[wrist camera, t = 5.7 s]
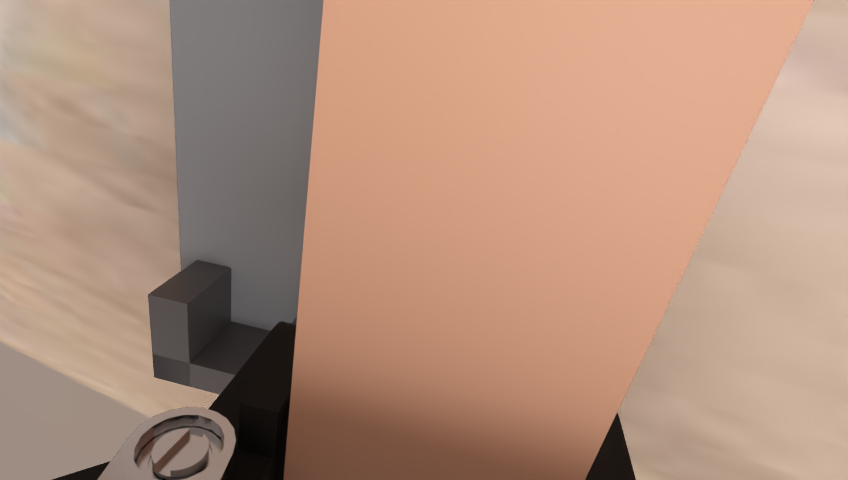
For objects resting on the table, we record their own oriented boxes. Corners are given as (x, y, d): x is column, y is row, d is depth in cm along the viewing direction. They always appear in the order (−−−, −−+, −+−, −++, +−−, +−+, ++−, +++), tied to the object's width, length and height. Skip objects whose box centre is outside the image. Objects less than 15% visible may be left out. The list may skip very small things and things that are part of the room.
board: (183, -211, 20) (160, -228, 19) (446, -174, 19) (441, -189, 18) (198, 328, 31) (184, 341, 30) (367, 370, 30) (360, 386, 29)
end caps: (184, -198, 19) (107, -252, 16) (411, -166, 18) (384, -215, 15) (199, 334, 29) (154, 377, 26) (345, 371, 29) (320, 420, 25)
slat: (475, -285, 7) (394, -847, 2) (733, -244, 7) (1190, -788, 2) (332, 572, 16) (256, 797, 11) (440, 604, 15) (408, 849, 11)
